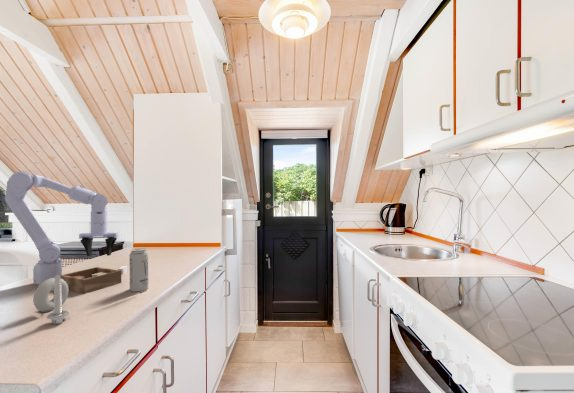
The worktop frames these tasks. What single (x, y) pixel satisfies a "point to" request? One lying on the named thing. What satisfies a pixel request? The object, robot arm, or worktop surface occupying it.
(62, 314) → the screw
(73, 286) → the storage box
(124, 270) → the lid
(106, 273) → the cream block
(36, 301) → the donut
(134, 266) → the energy drink can
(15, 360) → the worktop surface
